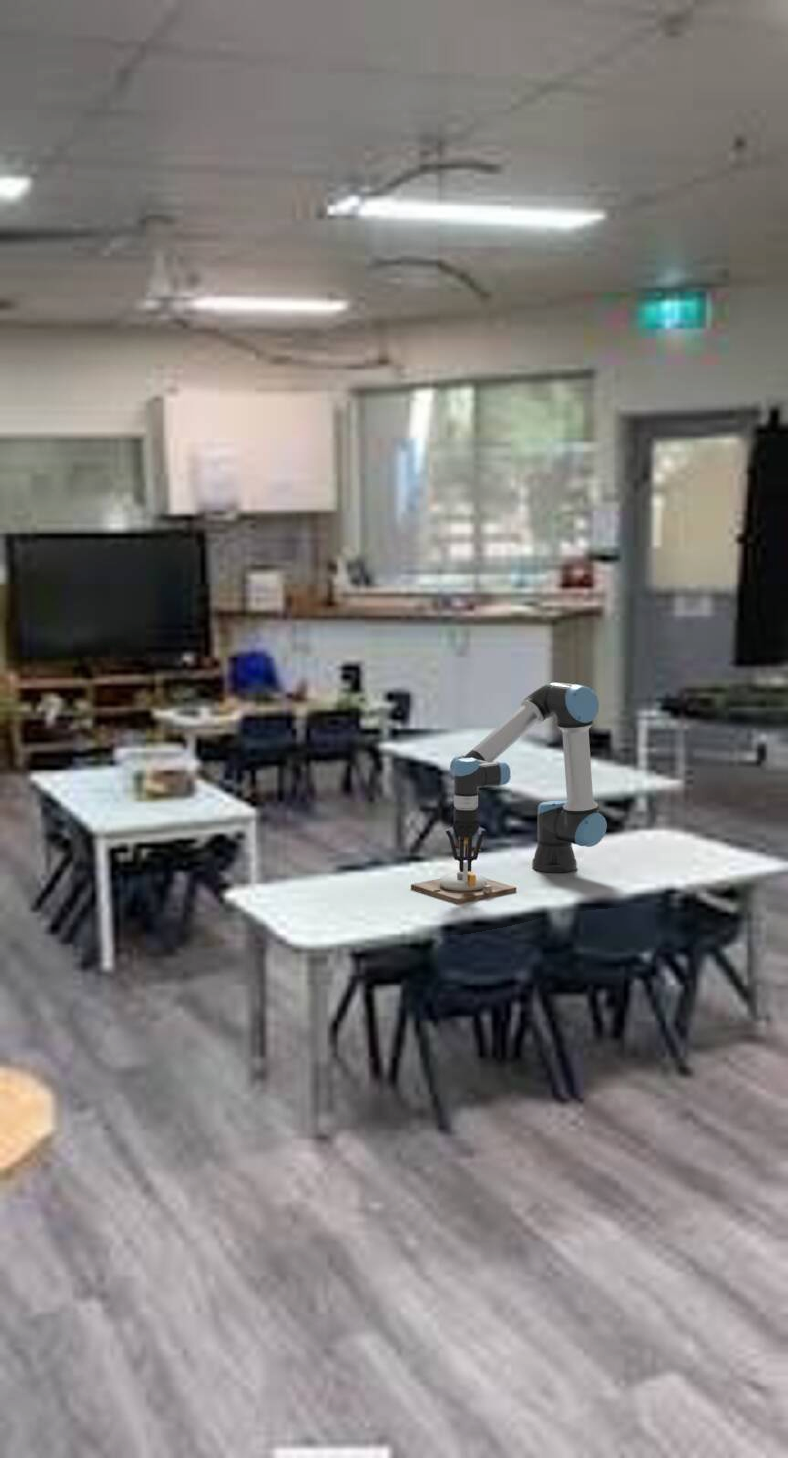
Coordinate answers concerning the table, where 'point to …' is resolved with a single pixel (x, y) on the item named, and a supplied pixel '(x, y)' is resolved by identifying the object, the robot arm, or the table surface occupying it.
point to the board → (463, 896)
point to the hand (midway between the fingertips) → (465, 881)
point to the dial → (457, 882)
